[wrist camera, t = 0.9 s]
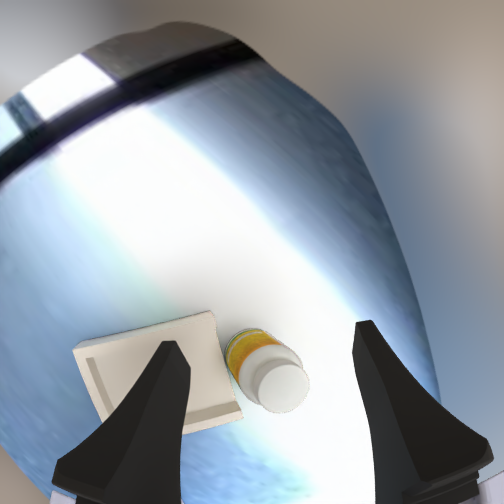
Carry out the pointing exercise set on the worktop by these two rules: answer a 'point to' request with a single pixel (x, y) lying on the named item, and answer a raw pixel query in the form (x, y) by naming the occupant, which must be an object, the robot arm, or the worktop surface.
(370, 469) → the worktop surface
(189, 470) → the worktop surface
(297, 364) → the supplement bottle
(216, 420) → the tray
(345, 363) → the worktop surface
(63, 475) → the robot arm
